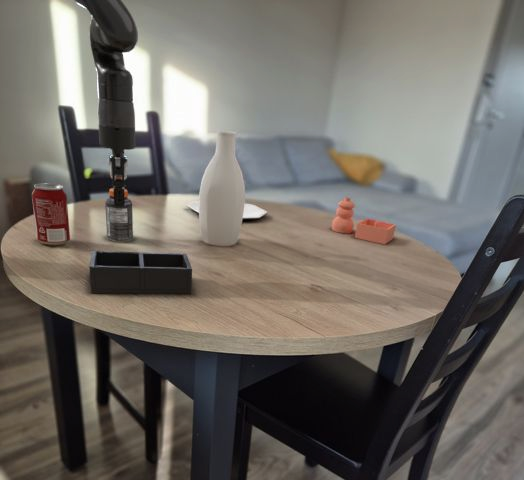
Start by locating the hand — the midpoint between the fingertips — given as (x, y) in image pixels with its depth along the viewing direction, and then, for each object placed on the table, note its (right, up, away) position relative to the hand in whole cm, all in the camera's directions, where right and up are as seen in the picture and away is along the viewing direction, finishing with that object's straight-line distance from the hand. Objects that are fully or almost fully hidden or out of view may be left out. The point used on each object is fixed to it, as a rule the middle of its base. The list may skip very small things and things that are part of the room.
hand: (119, 201), depth 110 cm
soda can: (-13, -10, -4) cm, 17 cm away
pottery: (+62, 0, +34) cm, 71 cm away
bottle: (+22, -7, +11) cm, 25 cm away
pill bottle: (-1, -8, +4) cm, 9 cm away
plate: (+22, +9, +41) cm, 47 cm away
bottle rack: (+10, -22, -20) cm, 31 cm away
